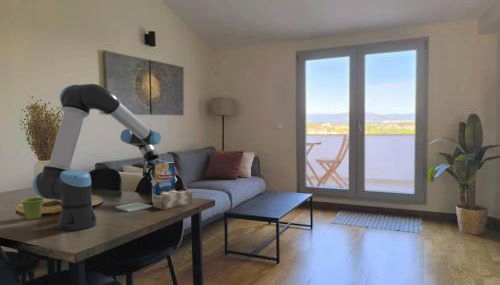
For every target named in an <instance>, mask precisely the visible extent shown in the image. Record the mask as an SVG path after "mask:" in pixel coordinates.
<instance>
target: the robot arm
mask: <svg viewBox="0 0 500 285" xmlns="http://www.w3.org/2000/svg"><path fill="white" fill-rule="evenodd" d="M59 95H60V96H59V101H60V105H61V106H62V107H61V111H62V112H63V116H62V118H61V119H62V120H61V123H60V127H59V129H58V132H57V135H56V139H55V143H54V144H53V145H54V146H53V149H52V153H51V156H50V159H49V162H47V164H45V165H44V166H43V168H42V171H41V172H39V173H38V174H36V175H35V177H34V179H33V181H32V182H33V183H32V186H33V190H34V192H35V193H36V195H37V196H38V197H39V198H45V199H47V200H56V201H57V200H61V203H60V204H61V210H60V213H59V216H58V220H57V222H56V224H57V225H56V226H57V229H58V230H59V231H79V230H80V231H81V230H85V229H90V228H92V227H95V226H97V216H96V214H95V212H94V208H93V204H92V199H93V198H92V177H91V174H90V172H88V171H86V170H80V169H78V170H77V169H72V168H71V165H72V162H73V157H74V154H75V150H76V147H77V145H78V144H77V143H78V140H79V137H80V134H81V130H82V127H83V123H84V119H85V118H88V117H89V114H90V111H91V110H98V111H101V113H104V114H105V115H109V116H110V117H112V118H113V119H114V120H116V121H117V122H118V123H119V124H120V125H122V126H123V127H124V128H125V129H123V130H122V131H121V133H120V135H119V136H120V137H119V138H120V141H121V142H123V143H125V144H128V145H132V146H133V147H136V148H138V149H139V151H140V153H141V156H143V161H142V163H141V165H142V177H145V178H147V179H148V181H149V182H150V184H151V186H152V185H153V186H155V185H156V181H155V179H154V178H153V176H152V168H151V163H155V162H168V161H167V160H166V159H165V158H162V159H160V157H159V155H158V153H157V151H156V149H155V147H154V145H155V146H156V145H159V144H160V143H161V139H162V136H161V133H160V132H159V131H157V130H152V129H150V128H149V127H148V126H147V125H146V124H145V123H144V122H143V121H142V120H140V119H139V118H138V117H137V116H136V115H135V114H134V113H133V112H131V111H130V110H129V109H128V107H126V106H125V105H123V104H122V103H121V100H120V99H121V98H119V97H118V96H116V95H115V93H113V92H111V91H110V90H109V89H107V88H105V87H104V86H101V85H100V84H96V83H95V84H94V83H85V84H72V85H68V86H66V87H65V88H63V89H62V91H61V93H60V94H59ZM147 165H148V166H147ZM148 167H149V168H148ZM147 168H148V169H147ZM175 171H176V168H175ZM177 181H178V179H177V177H176V174H175V184H176V183H177Z"/></svg>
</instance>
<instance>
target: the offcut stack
mask: <svg viewBox="0 0 500 285" xmlns="http://www.w3.org/2000/svg"><path fill="white" fill-rule="evenodd" d="M178 192H179V190H178V191H177V190H175V191H170V192H164V193H160V196H162V195H167V194H173V193H178Z"/></svg>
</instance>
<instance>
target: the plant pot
mask: <svg viewBox="0 0 500 285" xmlns="http://www.w3.org/2000/svg"><path fill="white" fill-rule="evenodd" d="M45 199H46V198H42V197H29V198H25V199H24V198H23V199H22V200H20V202H21V203H22V204H21V205H22V206H23V212H24V216H25V219H27V220H36V219H40V218H42V216H43V215H42V213H43V205H44V204H43V203H44V201H45Z"/></svg>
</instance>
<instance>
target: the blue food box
mask: <svg viewBox="0 0 500 285" xmlns="http://www.w3.org/2000/svg"><path fill="white" fill-rule="evenodd" d="M175 163H176V162H174V161H167V162H155V163H151V168H152V169H151V174H152V176H153V178H154V179H155V181H156V185H155V186H153V185H152V184H151V199H152V200H151V202H152V203H153V195H158V196H160V193H164V192H170V191H176V183H175V177H176V176H175V175H176V172H175V171H176V170H175V169H176V166H175Z"/></svg>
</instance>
